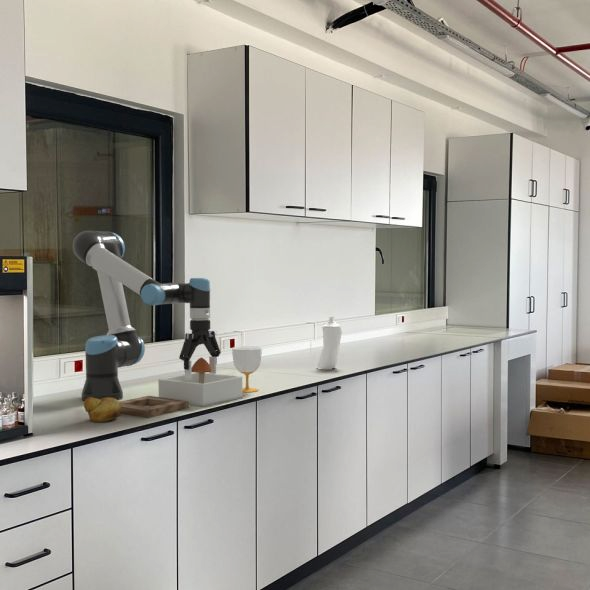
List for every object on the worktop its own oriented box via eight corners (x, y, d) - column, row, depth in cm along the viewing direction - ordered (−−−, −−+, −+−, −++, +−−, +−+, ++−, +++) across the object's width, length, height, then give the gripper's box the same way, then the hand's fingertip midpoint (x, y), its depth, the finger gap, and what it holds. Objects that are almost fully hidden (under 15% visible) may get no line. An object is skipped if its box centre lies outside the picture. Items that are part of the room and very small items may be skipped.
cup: (228, 389, 304) (228, 347, 304) (255, 387, 309) (255, 345, 308) (238, 393, 293) (237, 350, 293) (266, 391, 298) (265, 348, 297)
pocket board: (147, 417, 248) (147, 410, 248) (106, 411, 260) (106, 404, 259) (189, 408, 264) (189, 401, 264) (148, 402, 276) (148, 395, 276)
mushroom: (202, 396, 288) (203, 357, 288) (215, 397, 282) (216, 357, 283) (185, 397, 282) (186, 357, 283) (198, 398, 276) (199, 357, 277)
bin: (203, 406, 267) (203, 384, 266) (158, 400, 279) (158, 379, 279) (242, 397, 285) (242, 376, 284) (198, 392, 297) (198, 372, 297)
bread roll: (108, 414, 255) (108, 391, 254) (131, 417, 250) (130, 393, 250) (81, 421, 243) (80, 397, 243) (103, 424, 239) (103, 399, 238)
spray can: (336, 366, 372) (336, 315, 371) (344, 369, 362) (344, 317, 361) (314, 367, 368) (313, 316, 367) (321, 370, 358) (321, 317, 357)
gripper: (184, 321, 269) (185, 381, 269) (229, 317, 289) (229, 372, 290) (169, 321, 273) (169, 379, 274) (214, 316, 293) (215, 371, 294)
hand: (200, 376), depth 282 cm, fingers open, 13 cm apart
